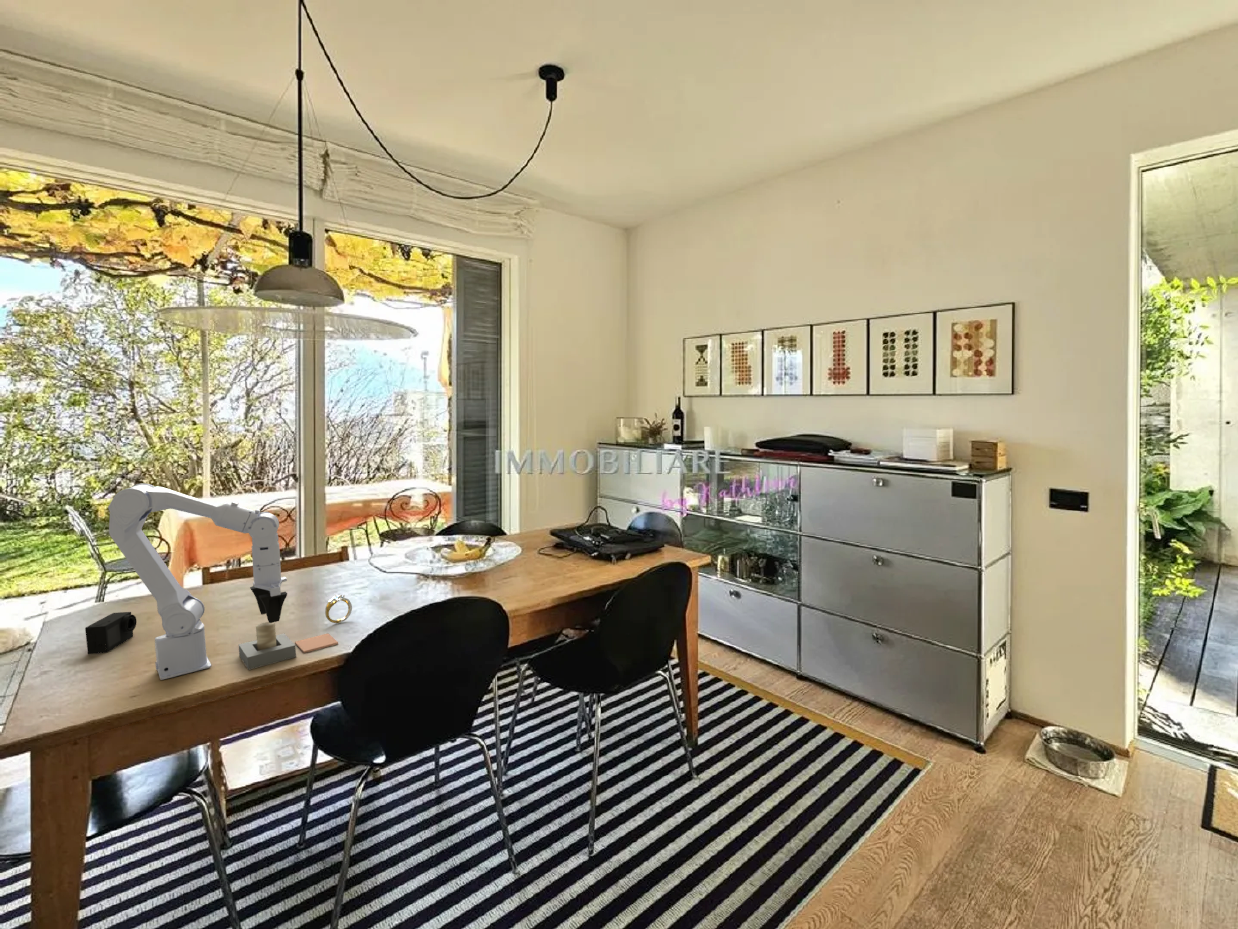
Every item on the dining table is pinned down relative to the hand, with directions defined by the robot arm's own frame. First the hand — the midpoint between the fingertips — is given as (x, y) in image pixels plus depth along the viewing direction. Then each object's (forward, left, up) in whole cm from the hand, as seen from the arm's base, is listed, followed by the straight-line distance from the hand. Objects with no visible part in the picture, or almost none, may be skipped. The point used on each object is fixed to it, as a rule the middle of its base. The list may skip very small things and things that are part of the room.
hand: (270, 617), depth 142 cm
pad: (+10, -1, -9) cm, 14 cm away
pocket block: (-1, -1, -9) cm, 9 cm away
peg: (-1, -1, -9) cm, 9 cm away
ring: (+19, +10, -10) cm, 24 cm away
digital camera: (-28, +34, -10) cm, 46 cm away
